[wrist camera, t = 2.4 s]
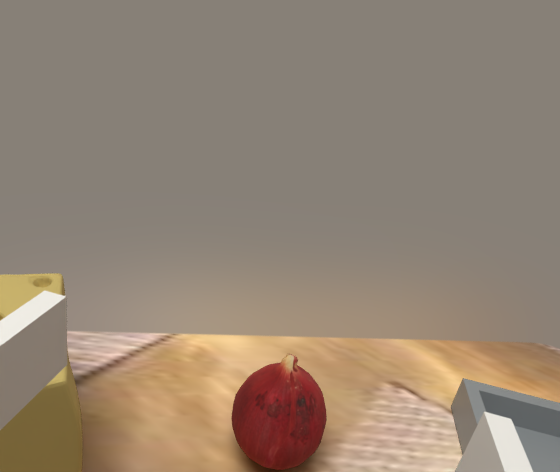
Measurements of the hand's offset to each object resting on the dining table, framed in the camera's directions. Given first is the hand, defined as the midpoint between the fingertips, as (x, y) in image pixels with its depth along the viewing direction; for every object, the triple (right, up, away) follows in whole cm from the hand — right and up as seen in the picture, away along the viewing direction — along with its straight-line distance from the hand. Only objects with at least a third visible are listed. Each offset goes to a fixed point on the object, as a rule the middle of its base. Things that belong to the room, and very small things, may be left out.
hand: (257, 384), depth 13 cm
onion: (0, -10, +15) cm, 18 cm away
